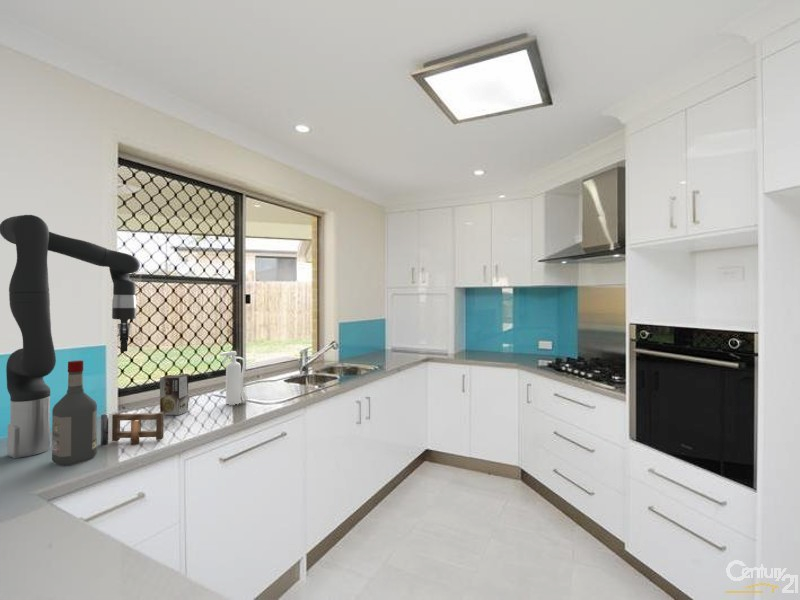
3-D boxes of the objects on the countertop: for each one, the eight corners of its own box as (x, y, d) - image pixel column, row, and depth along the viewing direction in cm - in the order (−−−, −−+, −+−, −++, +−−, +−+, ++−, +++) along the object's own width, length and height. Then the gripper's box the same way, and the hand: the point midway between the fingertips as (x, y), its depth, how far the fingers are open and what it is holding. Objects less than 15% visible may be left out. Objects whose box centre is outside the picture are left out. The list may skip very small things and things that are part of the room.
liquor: (62, 468, 111) (63, 364, 111) (49, 461, 116) (50, 362, 116) (99, 457, 119) (100, 360, 119) (85, 451, 124) (86, 358, 124)
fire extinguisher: (248, 403, 182) (247, 350, 182) (220, 406, 178) (219, 352, 178) (249, 400, 188) (248, 349, 189) (222, 403, 184) (221, 351, 185)
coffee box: (188, 411, 169) (189, 374, 169) (179, 415, 163) (179, 377, 163) (169, 410, 170) (169, 374, 170) (159, 414, 164) (159, 377, 164)
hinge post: (102, 445, 129) (102, 415, 129) (99, 444, 130) (99, 414, 130) (109, 443, 130) (109, 414, 130) (106, 442, 131) (106, 413, 131)
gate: (112, 441, 131) (112, 414, 131) (115, 439, 133) (115, 413, 133) (161, 439, 133) (161, 413, 133) (163, 438, 135) (163, 412, 135)
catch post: (132, 445, 129) (133, 421, 129) (129, 444, 130) (129, 420, 130) (140, 443, 131) (140, 420, 131) (137, 442, 132) (137, 418, 132)
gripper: (136, 307, 146) (136, 352, 146) (135, 306, 157) (135, 349, 157) (111, 307, 142) (111, 354, 141) (112, 306, 152) (112, 350, 152)
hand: (123, 351), depth 149 cm, fingers closed
